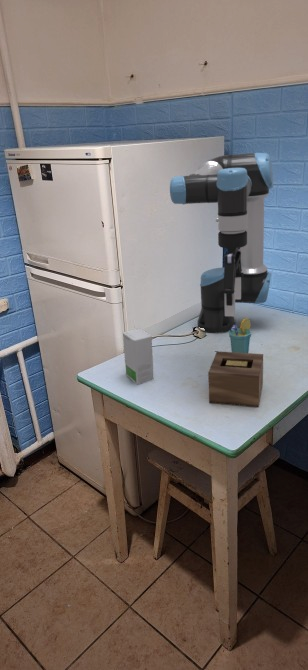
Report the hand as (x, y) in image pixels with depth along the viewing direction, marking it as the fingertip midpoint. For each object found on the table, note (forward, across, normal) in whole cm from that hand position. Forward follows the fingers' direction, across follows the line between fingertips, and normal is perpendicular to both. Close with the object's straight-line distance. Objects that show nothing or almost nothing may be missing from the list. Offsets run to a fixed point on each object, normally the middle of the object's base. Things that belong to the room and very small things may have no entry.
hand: (233, 307), depth 131 cm
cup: (+27, -20, -1) cm, 33 cm away
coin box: (+27, +2, +1) cm, 27 cm away
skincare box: (+27, -4, -31) cm, 41 cm away
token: (+26, +1, +1) cm, 26 cm away
